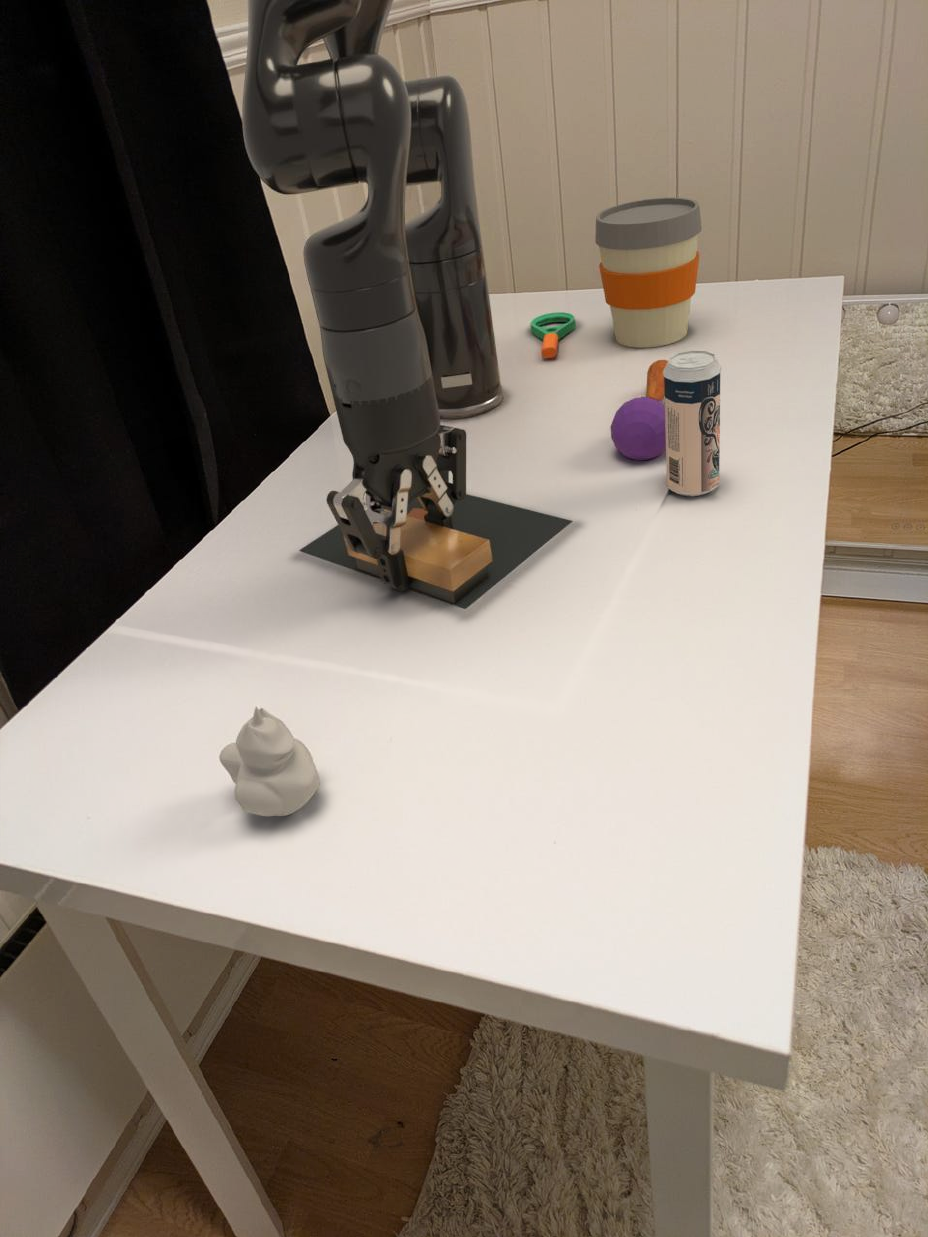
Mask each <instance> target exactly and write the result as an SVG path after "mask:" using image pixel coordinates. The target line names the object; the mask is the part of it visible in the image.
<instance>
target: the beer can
mask: <svg viewBox="0 0 928 1237" xmlns="http://www.w3.org/2000/svg"><path fill="white" fill-rule="evenodd" d="M667 361H668V363H667V365H666V367H665V369H664V371H663V375H664V393H665V396H664V405H665V430H666V450H665V461H666V462H665V464H666V465H665V466H666V467H665V468H666V487H667V488H668V490H670V491H671V492H673V493H675V494H677V495H680V496H683V497H700V496H704V495H706V494H709V493H710V492H713V491H714V490H715V489H717V488H718V487H719V485H720V483H721V478H720V461H721V460H720V459H721V458H720V457H721V456H720V450H721V449H720V446H721V445H720V444H721V441H720V440H721V437H720V436H721V372H722V365H721V364H720V362H719V360H718V358H717V357H716V354H715V353H712V352H709V351H707V350H688V351H683V352H682V351H681V352H677V353H675V354H674V355H672V356H670V357H669V358H668V360H667Z"/></svg>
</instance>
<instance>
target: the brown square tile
mask: <svg viewBox="0 0 928 1237" xmlns="http://www.w3.org/2000/svg"><path fill="white" fill-rule="evenodd" d="M427 513H428V511H425V510H424V509H419V508H413V509H412V510H411V511H410V512H409V514H408V515H407V516H409V517H413V518H416V519H420V520H423V521H425V520H424V515H425V514H427ZM451 518H452V515H451Z"/></svg>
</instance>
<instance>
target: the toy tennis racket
mask: <svg viewBox="0 0 928 1237" xmlns="http://www.w3.org/2000/svg"><path fill="white" fill-rule="evenodd" d="M557 322H558V323H559V322H561V323H562V322H565V323H563V324H560V325H555V326H542V325H545V324H550V323H557ZM574 329H576V316H575V315H574V314H572V313H569V312H565V311H563V312H562V311H561V312H550V313H545V314H542V315H538V316H536V317H535V318H533V319H532V320H531V321H530V330H531V333H532V334H533V335H534V336H536V337H537V338H539V339H541V341H542V346H541V352H540V354H541V356H542V357H543V358H544V359H551V358H552V359H553V358H554V357H556V355H557V352H558V345H559V340H561V339H562V338H563V337H565V336H566V335H568V334H569V333H571V332H572V331H574Z"/></svg>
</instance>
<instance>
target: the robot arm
mask: <svg viewBox="0 0 928 1237" xmlns="http://www.w3.org/2000/svg"><path fill="white" fill-rule="evenodd" d="M393 4H394V0H247V49H246V62H245V72H244V82H243V94H242V106H241V107H242V111H241V113H242V114H241V117H242V118H241V125H242V126H241V127H242V137H243V143H244V148H245V151H246V155H247V157H248V160H249V163H250V165H251V166H252V168H253V170H254V171H255V173H256V175H257V176H258V177H259V178H260V179H261V181H262V182H263V183H264V184H265V185H266V186H267V187H268V188H269V189H270V190H272V191H273V192H276V193H278V194H281V195H286V196H287V195H300V194H307V193H313V192H318V191H322V190H323V191H324V190H329V189H334V188H335V189H336V188H340V187H346V186H352V185H358V184H359V183H360V184H367V189H368V190H367V198H366V201H365V203H364V204H363V206H361V208H360V209H359V210H358V211H356V213H354V214H352V215H351V216H348V217H346V218H345V219H342V220H340V221H338V222H335V223H333V224H330V225H328V226H326V227H324V228H322V229H320V230H318V231H316V232H314V233H313V234H312V235H310V236H309V237H308V239H307V240H306V242H305V243H304V246H303V253H302V254H303V263H304V266H305V273H306V276H307V281H308V285H309V288H310V293H311V296H312V297H311V298H312V301H313V306H314V309H315V313H316V317H317V322H318V326H319V331H320V332H319V333H320V338H321V339H320V341H321V350H322V357H323V362H324V366H325V369H326V370H325V371H326V375H327V378H328V383H329V387H330V391H331V395H332V399H333V402H334V406H335V411H336V415H337V419H338V424H339V427H340V431H341V435H342V440H343V442H344V445H345V446H346V447H347V449H348V451H349V452H350V454H351V456H352V460H353V465H352V472H351V473H352V474H351V476H352V480H351V481H350V482H349V483H348V484H347V485H346V486H345V487H344V488H343V489H342V490H341V491H337V490H331V491H329V492H328V494H327V495H326V504H327V506H328V508H329V510H330V512H331V514H332V515H333V517H334V519H335V521H336V523H337V525H339V527H340V529H341V531H342V533H343V535H344V536H345V538H346V540H347V542H348V544H349V546H350V548H351V550H352V551H353V552H356V553H361V554H364V555H366V556H369V557H371V558H374V559H377V563H378V567H379V572H380V576H381V579H380V580H381V581H382V583H383V584H384V585H387V586H388V587H389V588H391V589H394V590H397V591H400V592H404V591H407V590H408V589H407V588H408V587H410V580H409V576H408V573H407V568H406V564H405V559H404V553H403V550H401V549H400V542H401V527H402V526H403V525H405V524H406V521H407V506H408V505H409V504H410V503H411V502H412V500H413V499H414V498H416V497H417V499H418V501H419V502H420V504H421V506H422V507H423V509H424V510H425V511H428V513H427V514H425V515H424V520H425V521H426V522H430V523H433V524H437V525H440V526H443V527H447V528H450V529H453V525H452V519H451V515H452V513H453V510H454V507H453V505H454V504H455V502H456V501H457V500H463V499H464V497H465V495H466V494H467V432H466V430H465V429H464V428H458V427H453V426H448V425H444V424H441V418H444V419H457V418H458V419H459V418H466V417H471V416H476V415H479V414H482V413H485V412H487V411H490V410H491V409H493V408H495V407H496V406H498V405H499V404H500V403H501V402H502V400H503V398H504V393H503V385H502V384H501V376H500V368H499V360H498V351H497V344H496V337H495V330H494V322H493V315H492V308H491V306H492V305H491V300H490V291H489V285H488V278H487V272H486V271H487V270H486V262H485V255H484V248H483V247H484V246H483V240H482V234H481V225H480V216H479V208H478V207H479V206H478V200H477V192H476V184H475V182H476V181H475V172H474V163H473V162H474V161H473V160H474V159H473V148H472V134H471V125H470V115H469V108H468V104H467V99H466V96H465V92H464V90H463V88H462V86H461V84H460V82H459V81H458V80H457V79H456V78H455V77H454V76H452V75H437V76H431V77H424V78H418V79H412V80H407V81H404V79H403V77H402V75H401V74H400V72H399V71H398V70H397V68H396V67H395V66H394V65H393V64H392V63H391V61H390V60H388V59H387V58H386V57H385V56H383V55H381V54H379V52H380V46H381V42H382V41H381V40H382V38H383V34H384V30H385V27H386V25H387V21H388V18H389V15H390V12H391V10H392V6H393ZM320 40H323V43H324V46H325V48H326V50H327V54H328V56H329V59H321V60H318V61H312V62H306V63H300V64H298V63H299V60H300V58H301V56H302V54H303V53H304V52H305V51H306V50H307V49H308V48H309V47H311V46H312V45H314V44H315V43H317V42H319V41H320ZM435 183H440V197H439V198H438V200H437V201H436V202H435V203H434V204H433V205H432V206H430V208H427V210H426V211H424V212H422V213H421V214H419V215H417V216H415V217H413V218H411V219H409V220H407V221H406V187H411V186H412V187H413V186H419V185H420V186H421V185H427V184H435ZM449 472H450V473H451V474H452V482H450V478H449V474H450V473H449ZM381 505H383V506H387V507H390V508H392V512H389V511H386V510H384V509H383V508H382V506H381ZM384 524H385V525H386V536H383V529H384Z"/></svg>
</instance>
